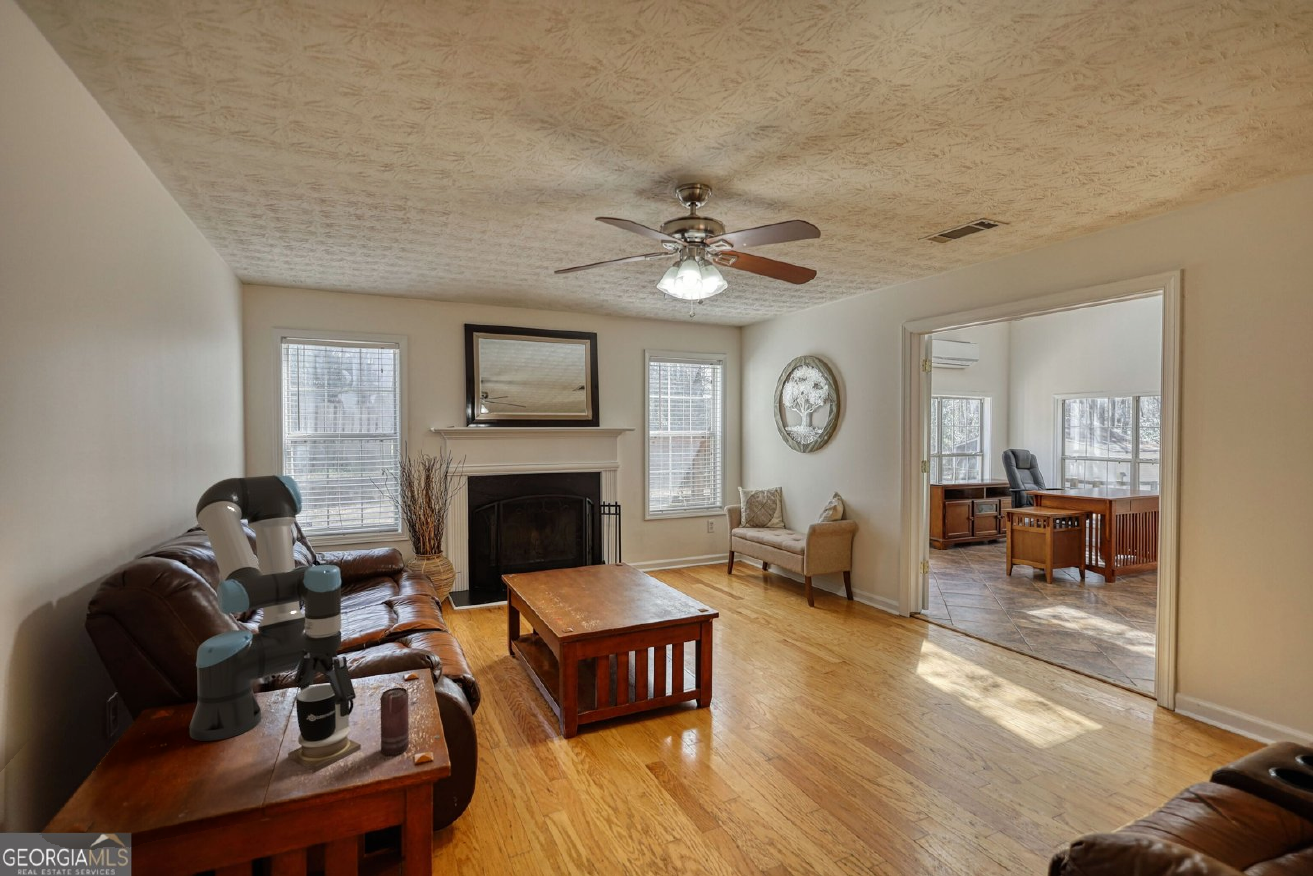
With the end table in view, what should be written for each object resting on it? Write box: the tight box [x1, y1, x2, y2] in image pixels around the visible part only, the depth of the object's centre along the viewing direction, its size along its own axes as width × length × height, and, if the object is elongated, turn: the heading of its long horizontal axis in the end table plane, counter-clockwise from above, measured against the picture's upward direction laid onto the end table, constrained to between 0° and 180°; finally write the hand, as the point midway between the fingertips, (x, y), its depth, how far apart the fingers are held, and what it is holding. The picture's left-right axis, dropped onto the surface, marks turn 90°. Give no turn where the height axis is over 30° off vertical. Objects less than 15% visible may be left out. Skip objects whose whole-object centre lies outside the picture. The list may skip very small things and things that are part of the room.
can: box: [380, 687, 410, 757], centre depth 149 cm, size 6×6×14 cm
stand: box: [287, 725, 362, 773], centre depth 148 cm, size 11×11×5 cm
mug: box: [295, 684, 354, 742], centre depth 147 cm, size 12×9×10 cm
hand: (324, 721), depth 147 cm, fingers open, 13 cm apart
